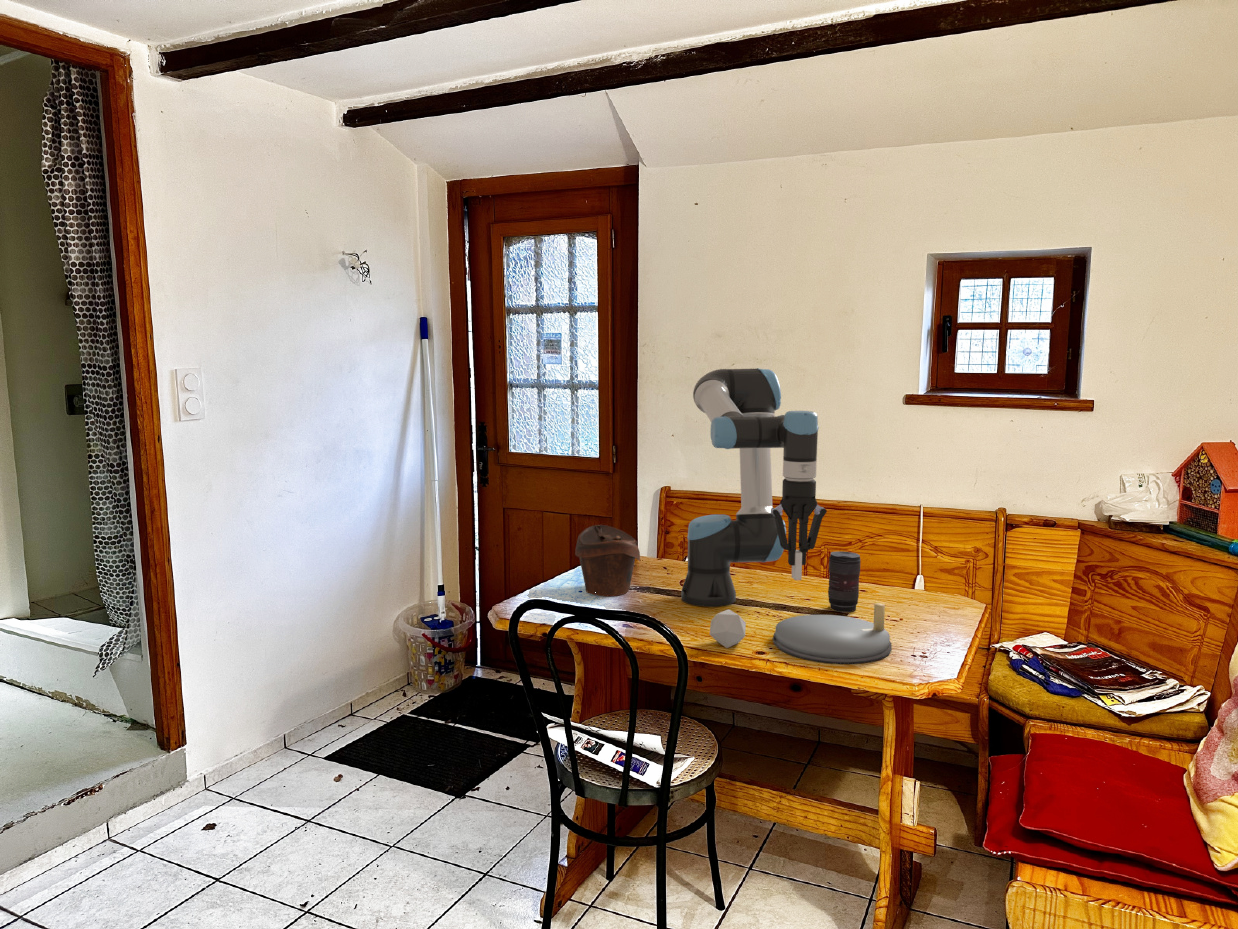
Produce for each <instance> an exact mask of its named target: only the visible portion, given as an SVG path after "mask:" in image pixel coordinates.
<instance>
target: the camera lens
mask: <svg viewBox="0 0 1238 929" xmlns="http://www.w3.org/2000/svg"><path fill="white" fill-rule="evenodd" d="M828 558H829V560H828V574H829V577H828V578H829V579H828V590H827V592H828V594H827V595H828V602H829V605H830V607H829V608H830V610H832V611H835V612H840V613H850V612H854V611H856V610H857V605H858V602H859V596H860V593H859V592H860V589H859V588H860V587H859V586H860V575H861V560H862V559H861V555H860V554H858V553H856V552H851V551H838V550H837V551H832V552H830V553H829V557H828Z"/></svg>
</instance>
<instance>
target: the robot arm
mask: <svg viewBox="0 0 1238 929" xmlns="http://www.w3.org/2000/svg"><path fill="white" fill-rule="evenodd" d="M781 391H782V390H781V385H780V382H779V378H778V376H777V375H776V373H775V372H774V371H773V370H771V369H769V368H768V369H767V368H759V367H758V368H719V369H715V370H712V371H710V372H708V373H706V374H704V375H703V376H701V378H699V380H698V381H697V382H696V384H695V386H694V388H693V391H692V397H693V402H694V404H695V406H696V407H697V409H699V410H700V412H701V413H704V414H706V416H707V418H708V419H709V421H710V422H711V424H710V431H709V432H710V439H711V444H712V446H713V447H714V448H716V449H725V450H731V449H739V469H740V470H739V471H740V472H739V474H740V476H739V477H740V502H741V503H740V504H741V505H740V506H741V507H740V509H738V511H737V512H736V513H735V518H736V519H734V520H732V518H731V516H730V515H727V514H709V515H708V514H707V515H703V516H699V517H698V516H697V517H696V518H694V519H692V520H691V521H690V522H689V523H688V528H687V529H688V530H687V537H686V538H687V573H686V576H685V578H684V582H683V585H682V587H681V588H682V589H681V591H680V592H681V593H680V594H681V595H680V596H681V598H680V599H681V600H682V602H684V603H686V604H689V605H692V606H696V607H712V608H713V607H715V608H716V607H724V606H728V605H732V604H734V603H735V602H736V601H737V600H736V599H737V592H736V588H735V585H734V582H733V579H732V576H731V563H767V562H775V561H778V560H779V559H780V558H781V557H782V555H783V553H784V551H787V552H788V553H787V561H788V562H787V563H788V564H789V566H791V579H793V580H794V581H802V576H803V575H802V574H803V573H802V572H803V570H802V569H803V568H802V567H803V566H805V565H806V563H807V553H808V551H809V550H813V549H815V547H816V543H817V540H818V536H819V532H820V528H821V524H822V521H823V519H824V517H825V515H826V514H827V511H828V510H827V509H826V508H824V507H823V506H820V504H818V500H817V498H816V496H817V495H816V494H817V493H816V492H817V490H816V489H817V481H816V479H815V478H817V461H818V460H817V457H818V435H819V433H818V432H819V428H820V427H819V420H818V419H819V418H818V414H817V413H816V412H815V411H810V410H789V411H786V412H785V413H784V414H780V415H777V416H775V415H776V414H775V411H777V410H778V411H779V409H780V407H781V405H782V402H781V401H782V400H781V399H782V392H781ZM771 449H783V456H782V457H783V460H782V461H783V462H782V463H783V464H782V477H783V478H784V479H782V492H781V494H782V495H781V496H782V497H781V499H780V502H779V505H777V506H776V507H775V508H774V507H773V489H772V487H773V486H772V485H773V484H772V480H773V479H772V461H771V460H772V459H771V458H772V457H771V456H772V455H771ZM783 512H784V513H785V515H786V516H787V521H788V530H787V528H786V523H785V520H783ZM812 513H814V515H813V518H812V520H811V525H810V528H809V531H808V524H809V517H810V516H811V515H812ZM798 522H799V523H798ZM797 524H798V525H799V526H798V525H797ZM797 526H798V527H797ZM797 529H798V530H797ZM797 531H798V532H797ZM808 532H809V533H808ZM797 533H798V549H797ZM787 534H788V535H787Z"/></svg>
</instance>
